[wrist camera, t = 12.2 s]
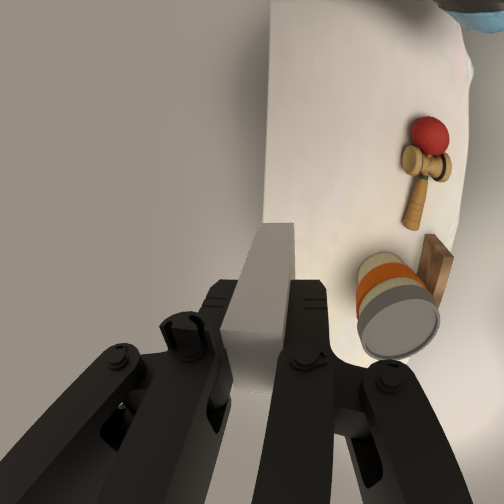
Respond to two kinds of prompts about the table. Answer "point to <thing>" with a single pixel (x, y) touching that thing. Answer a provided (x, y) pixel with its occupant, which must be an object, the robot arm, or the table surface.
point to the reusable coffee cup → (393, 309)
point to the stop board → (435, 266)
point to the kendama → (425, 163)
